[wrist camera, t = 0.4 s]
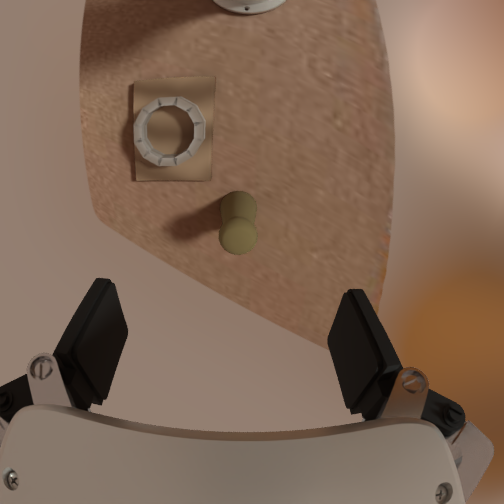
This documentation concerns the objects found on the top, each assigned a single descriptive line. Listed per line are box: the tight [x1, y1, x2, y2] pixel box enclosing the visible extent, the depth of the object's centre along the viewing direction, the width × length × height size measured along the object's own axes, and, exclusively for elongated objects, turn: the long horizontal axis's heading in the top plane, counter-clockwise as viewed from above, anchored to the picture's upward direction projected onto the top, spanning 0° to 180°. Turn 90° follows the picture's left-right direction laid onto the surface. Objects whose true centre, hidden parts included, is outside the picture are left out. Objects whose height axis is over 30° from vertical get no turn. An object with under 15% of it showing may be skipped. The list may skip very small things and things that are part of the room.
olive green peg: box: [219, 191, 258, 255], centre depth 40 cm, size 6×6×11 cm
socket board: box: [133, 76, 216, 181], centre depth 35 cm, size 16×12×4 cm
